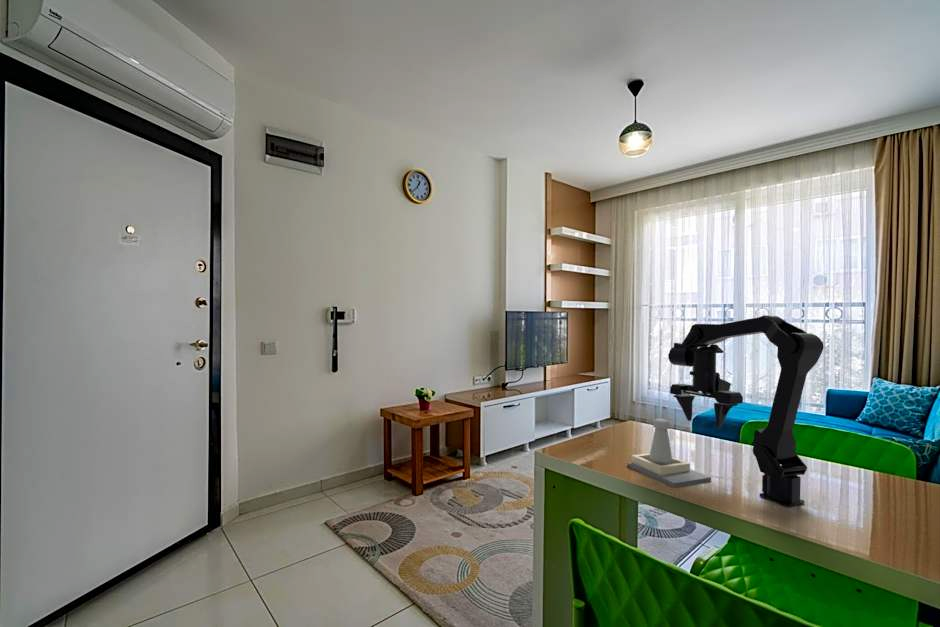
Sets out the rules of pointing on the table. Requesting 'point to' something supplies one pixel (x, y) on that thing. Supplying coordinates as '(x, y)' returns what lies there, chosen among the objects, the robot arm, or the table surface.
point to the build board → (668, 471)
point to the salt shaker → (661, 443)
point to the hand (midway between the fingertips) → (703, 424)
